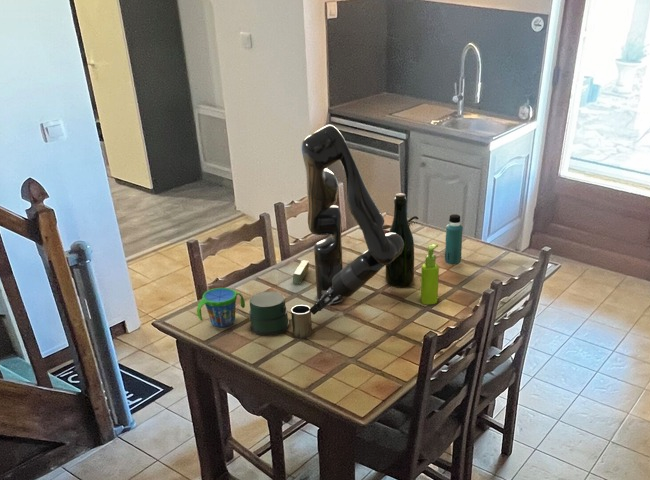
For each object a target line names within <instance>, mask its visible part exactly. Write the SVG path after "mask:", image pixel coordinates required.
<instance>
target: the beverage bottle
mask: <svg viewBox="0 0 650 480" xmlns="http://www.w3.org/2000/svg"><path fill="white" fill-rule="evenodd" d="M448 222H449V223H448V224H447V225H446V226H445V228H446V229H445V245H444V246H445V248H444V262H445V263H446V264H448V265H459V264H460V263H461V262H462V259H463V258H462V255H463V254H462V250H463V229H464V227H463V225H462V224H461V215H459V214H457V213H452V214H450V215H449V219H448Z"/></svg>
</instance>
